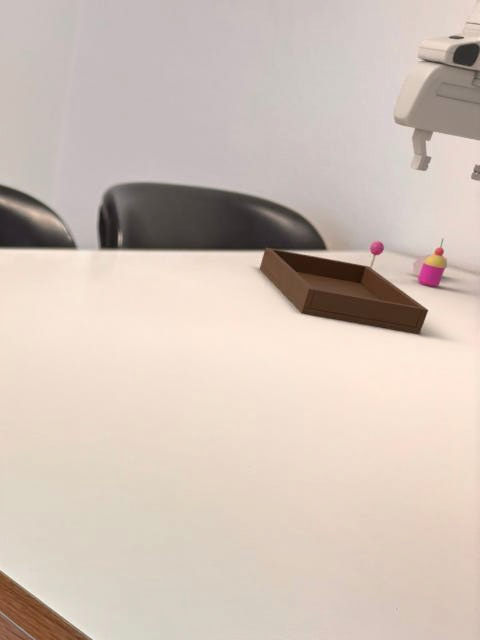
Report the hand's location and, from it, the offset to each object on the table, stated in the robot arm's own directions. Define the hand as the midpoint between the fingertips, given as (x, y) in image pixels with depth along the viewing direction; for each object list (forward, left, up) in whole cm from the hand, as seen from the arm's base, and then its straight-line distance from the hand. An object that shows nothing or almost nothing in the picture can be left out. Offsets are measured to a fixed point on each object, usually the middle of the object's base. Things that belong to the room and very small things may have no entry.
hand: (448, 175), depth 140 cm
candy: (0, 0, -14) cm, 14 cm away
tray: (+18, +24, -13) cm, 33 cm away
